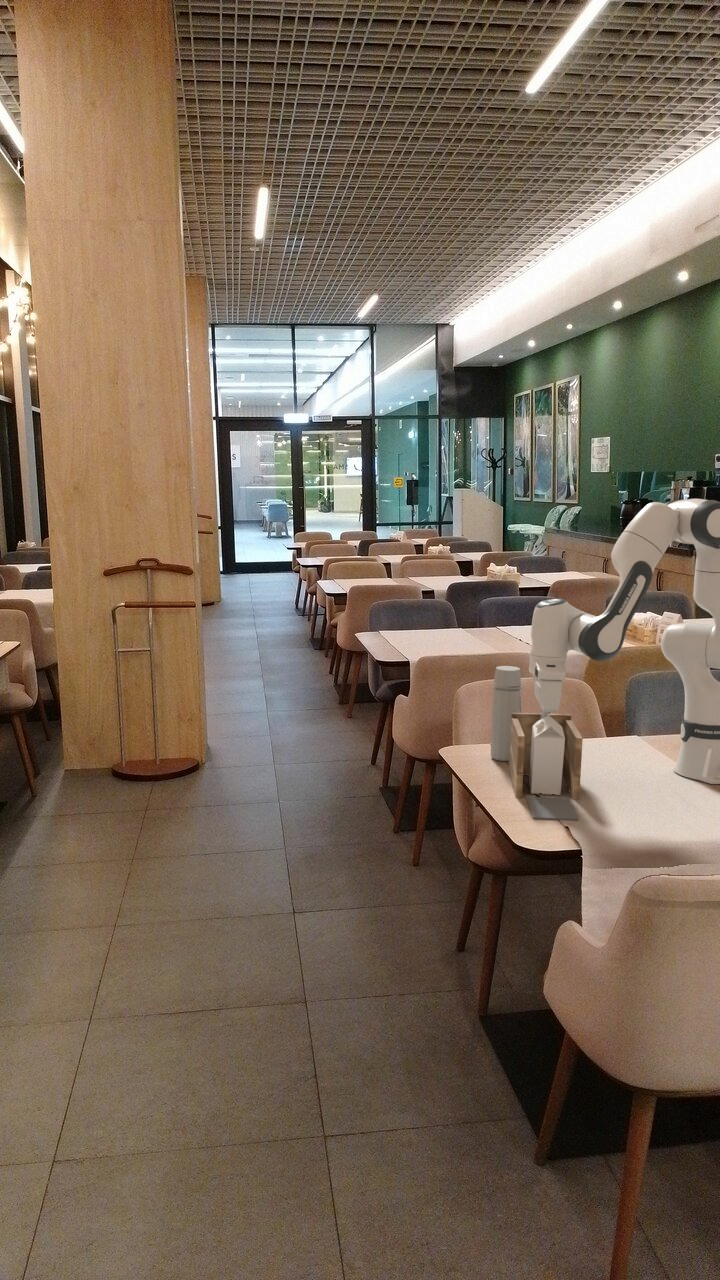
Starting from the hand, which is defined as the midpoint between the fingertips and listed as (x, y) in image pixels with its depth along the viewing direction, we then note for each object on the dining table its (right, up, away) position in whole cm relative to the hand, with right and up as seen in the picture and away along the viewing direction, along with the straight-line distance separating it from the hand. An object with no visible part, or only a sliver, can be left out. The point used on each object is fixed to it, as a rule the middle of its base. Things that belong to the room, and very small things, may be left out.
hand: (544, 721), depth 233 cm
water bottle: (-5, -12, +27) cm, 30 cm away
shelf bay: (0, -16, +3) cm, 17 cm away
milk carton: (0, -16, 0) cm, 16 cm away
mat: (-1, -19, -13) cm, 23 cm away
